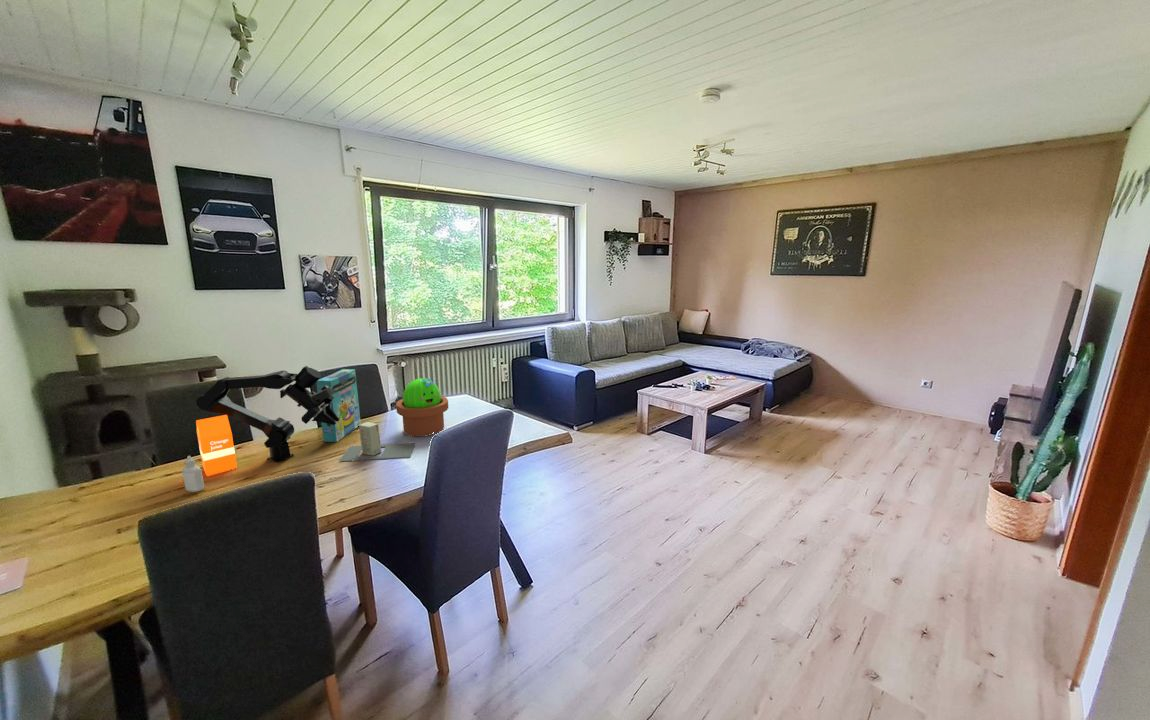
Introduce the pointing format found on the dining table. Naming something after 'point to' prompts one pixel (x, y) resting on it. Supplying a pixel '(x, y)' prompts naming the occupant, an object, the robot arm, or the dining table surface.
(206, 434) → the orange juice
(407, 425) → the potted cactus
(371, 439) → the skincare box
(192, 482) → the eye dropper bottle
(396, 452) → the flat grey rectangular plate
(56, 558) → the dining table surface
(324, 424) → the game box
